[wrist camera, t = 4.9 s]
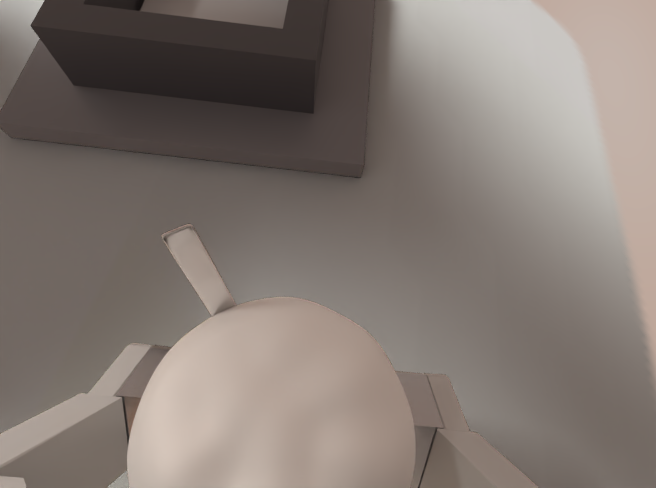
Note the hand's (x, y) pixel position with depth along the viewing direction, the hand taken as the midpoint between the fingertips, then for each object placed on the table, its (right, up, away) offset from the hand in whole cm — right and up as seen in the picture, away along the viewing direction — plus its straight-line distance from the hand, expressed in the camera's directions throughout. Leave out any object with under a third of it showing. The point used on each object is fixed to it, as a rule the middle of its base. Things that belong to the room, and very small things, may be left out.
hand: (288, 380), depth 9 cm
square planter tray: (-5, +15, +12) cm, 19 cm away
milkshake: (0, -3, +5) cm, 6 cm away
